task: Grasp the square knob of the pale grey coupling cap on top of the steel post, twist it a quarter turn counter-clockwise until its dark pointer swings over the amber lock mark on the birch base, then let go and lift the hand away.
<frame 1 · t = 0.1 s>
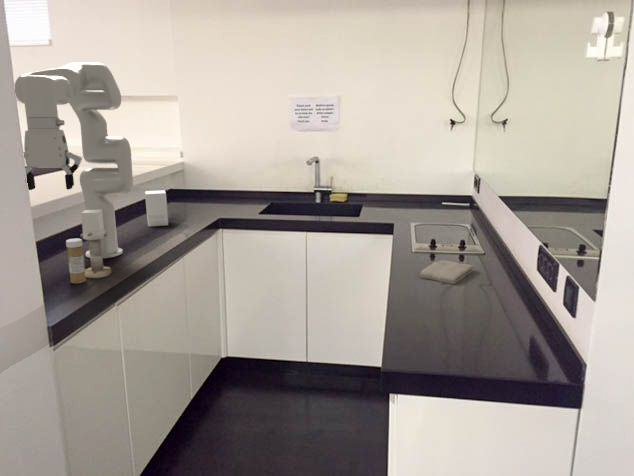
hand: (50, 189, 145), 31 cm above the worktop, tool pointing down, fingers open, 9 cm apart
sprinkles bottle: (78, 282, 166), on the worktop
post base: (98, 274, 173), on the worktop
supplement box: (157, 224, 245), on the worktop
washcloth: (447, 276, 175), on the worktop
coupling cap: (92, 225, 168), point 17 cm above the worktop, hinge at 0.0°
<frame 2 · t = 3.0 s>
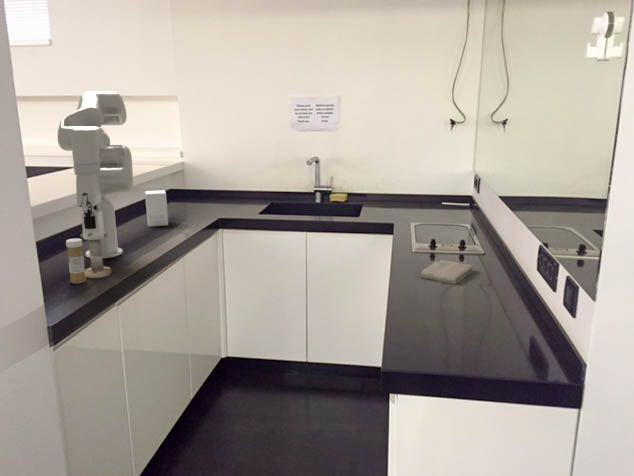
hand: (93, 226, 169), 16 cm above the worktop, tool pointing down, fingers closed on coupling cap, 5 cm apart
coupling cap: (92, 225, 168), point 17 cm above the worktop, hinge at 0.0°, touching gripper
everything else where it was.
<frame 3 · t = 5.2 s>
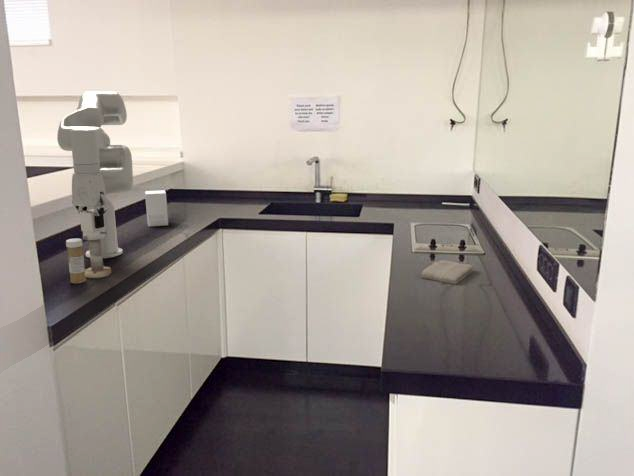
hand: (92, 226, 169), 16 cm above the worktop, tool pointing down, fingers closed on coupling cap, 5 cm apart
coupling cap: (95, 224, 169), point 17 cm above the worktop, hinge at 56.7°, touching gripper
everything else where it was.
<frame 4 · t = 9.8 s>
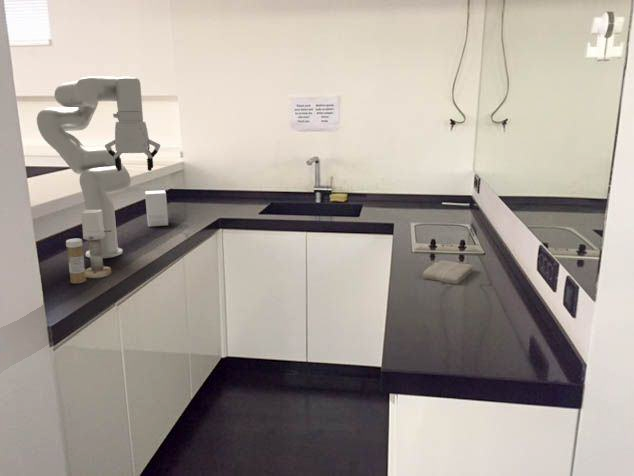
hand: (134, 170, 176), 32 cm above the worktop, tool pointing down, fingers open, 9 cm apart
coupling cap: (96, 224, 169), point 17 cm above the worktop, hinge at 90.6°
everything else where it was.
at the end: coupling cap at +91° (first picture: +0°); the gripper is holding nothing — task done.
